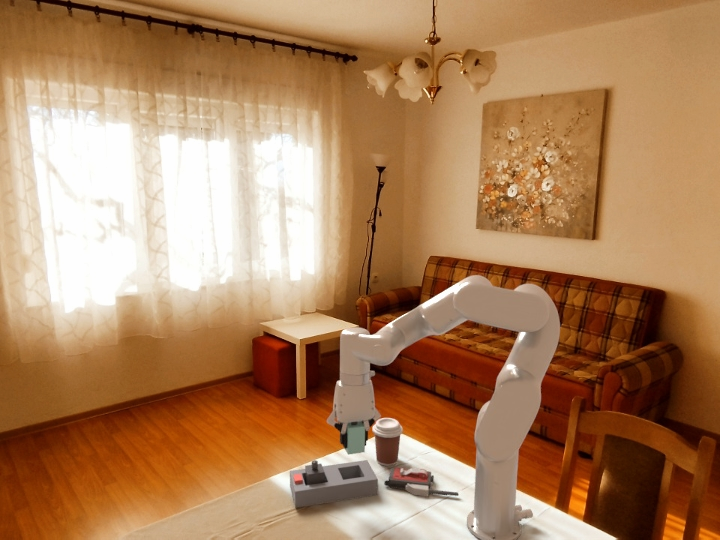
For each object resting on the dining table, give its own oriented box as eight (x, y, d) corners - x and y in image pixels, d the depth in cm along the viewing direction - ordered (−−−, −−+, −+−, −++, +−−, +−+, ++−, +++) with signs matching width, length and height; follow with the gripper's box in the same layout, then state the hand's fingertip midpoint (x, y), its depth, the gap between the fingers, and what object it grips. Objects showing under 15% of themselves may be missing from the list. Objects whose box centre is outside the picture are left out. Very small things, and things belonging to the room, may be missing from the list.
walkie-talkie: (382, 493, 138) (458, 501, 134) (383, 477, 137) (458, 486, 133) (387, 475, 146) (458, 483, 142) (387, 460, 145) (458, 468, 142)
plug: (359, 443, 134) (359, 411, 133) (364, 452, 130) (365, 418, 129) (343, 446, 133) (343, 413, 132) (348, 454, 129) (348, 421, 127)
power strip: (367, 474, 146) (367, 445, 144) (377, 494, 136) (377, 463, 135) (290, 486, 140) (289, 455, 138) (295, 507, 130) (294, 475, 129)
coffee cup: (369, 453, 157) (369, 417, 155) (398, 451, 159) (398, 415, 157) (375, 469, 148) (375, 431, 146) (405, 467, 150) (406, 428, 148)
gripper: (381, 369, 135) (379, 433, 137) (318, 375, 130) (318, 442, 132) (391, 379, 127) (389, 447, 130) (325, 385, 122) (325, 456, 125)
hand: (353, 444), depth 131 cm, fingers closed on plug, 4 cm apart
